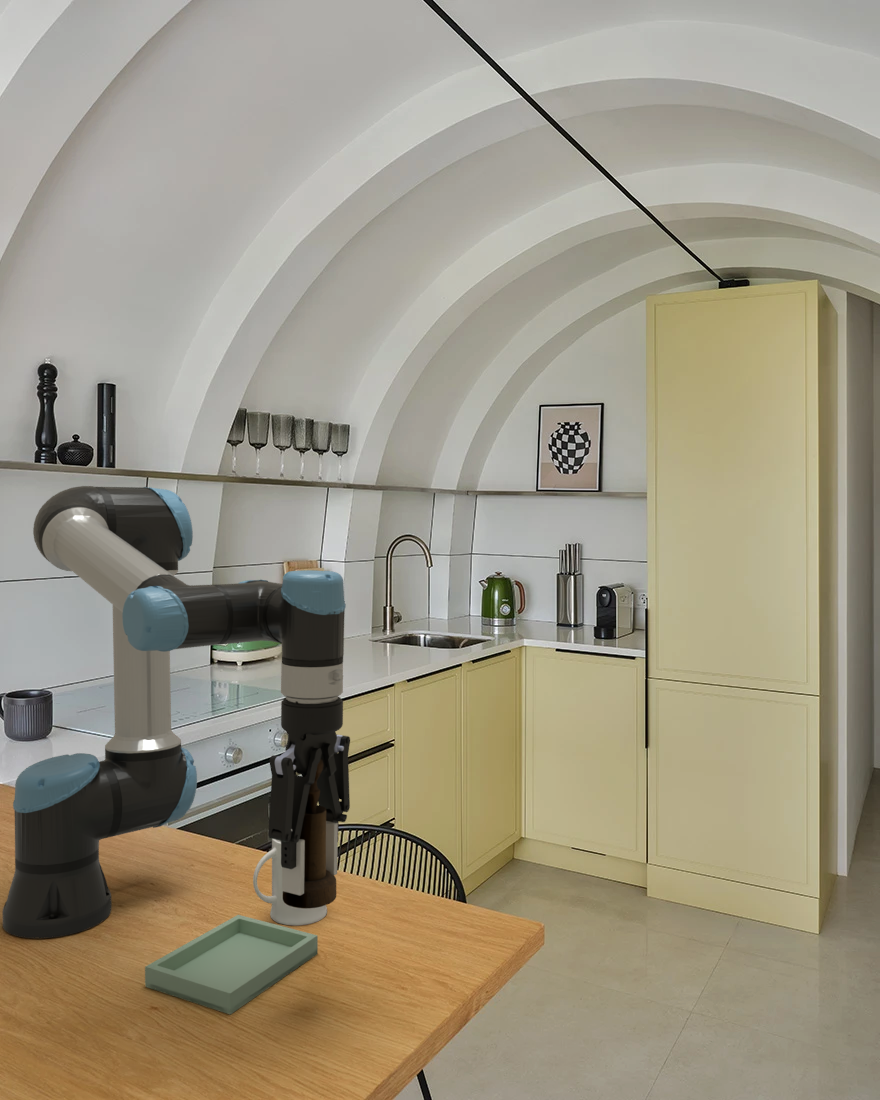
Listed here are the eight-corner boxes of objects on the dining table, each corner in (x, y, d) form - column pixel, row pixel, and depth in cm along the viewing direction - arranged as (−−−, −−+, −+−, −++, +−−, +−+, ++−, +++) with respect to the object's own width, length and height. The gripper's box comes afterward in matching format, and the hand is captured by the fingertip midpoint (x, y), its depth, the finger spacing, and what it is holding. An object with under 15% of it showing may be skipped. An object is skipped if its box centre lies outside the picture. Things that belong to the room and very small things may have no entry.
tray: (145, 986, 120) (145, 966, 120) (238, 932, 136) (238, 914, 135) (230, 1014, 113) (230, 993, 113) (317, 953, 129) (317, 935, 129)
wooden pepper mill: (311, 883, 120) (313, 744, 120) (347, 897, 116) (349, 753, 115) (271, 899, 115) (273, 754, 114) (307, 914, 111) (309, 764, 110)
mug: (262, 936, 134) (262, 853, 134) (241, 914, 142) (241, 836, 141) (336, 917, 141) (336, 838, 140) (312, 898, 148) (312, 823, 148)
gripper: (288, 715, 104) (286, 918, 105) (380, 687, 121) (377, 862, 122) (236, 707, 108) (234, 904, 109) (332, 681, 125) (330, 851, 126)
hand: (310, 881), depth 116 cm, fingers closed on wooden pepper mill, 6 cm apart
